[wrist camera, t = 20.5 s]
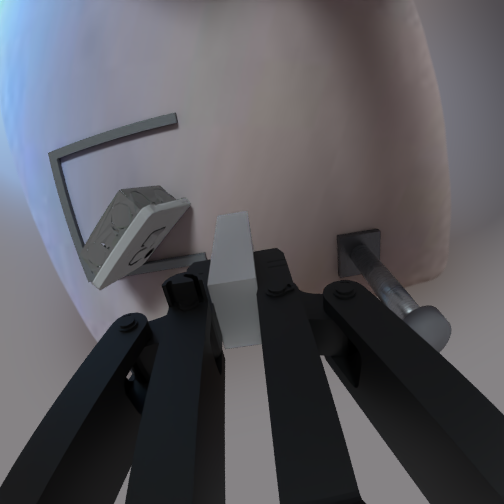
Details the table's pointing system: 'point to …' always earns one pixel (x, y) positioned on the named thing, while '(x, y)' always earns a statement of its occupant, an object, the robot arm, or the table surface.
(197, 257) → the bay
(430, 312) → the lever
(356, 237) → the mast
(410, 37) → the table surface
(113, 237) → the electrical switch
